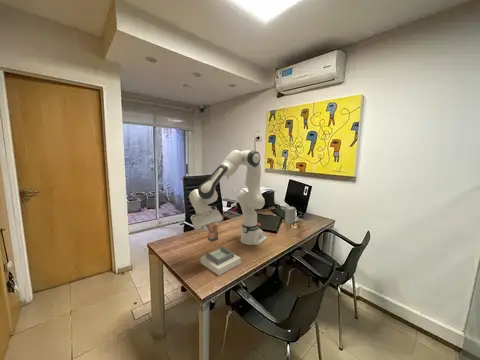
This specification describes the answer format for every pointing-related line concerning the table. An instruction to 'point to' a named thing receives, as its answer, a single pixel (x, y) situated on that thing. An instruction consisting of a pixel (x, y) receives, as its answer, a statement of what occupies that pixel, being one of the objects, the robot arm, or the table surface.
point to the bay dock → (220, 260)
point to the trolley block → (213, 232)
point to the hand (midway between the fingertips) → (213, 231)
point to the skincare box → (290, 215)
